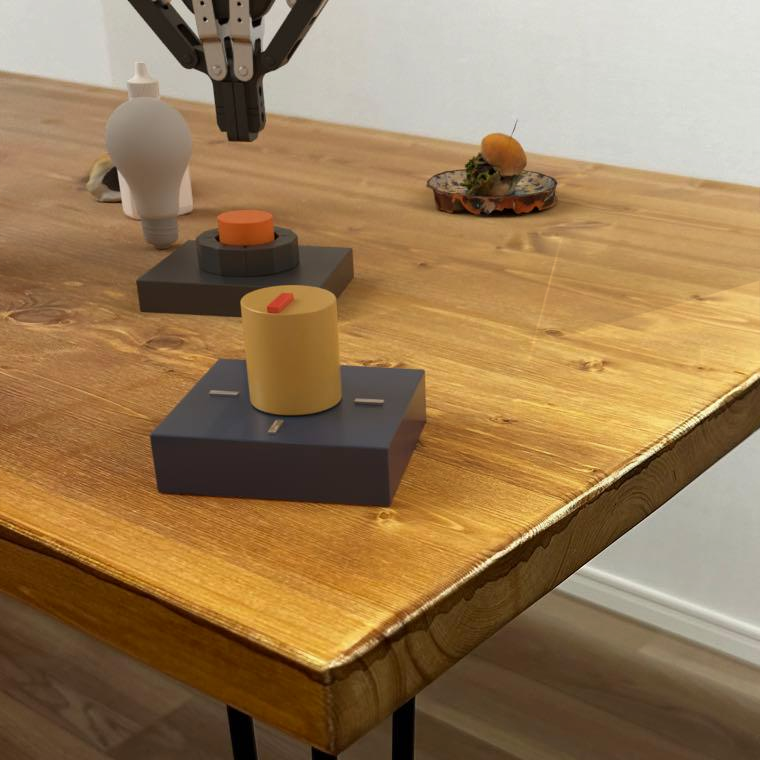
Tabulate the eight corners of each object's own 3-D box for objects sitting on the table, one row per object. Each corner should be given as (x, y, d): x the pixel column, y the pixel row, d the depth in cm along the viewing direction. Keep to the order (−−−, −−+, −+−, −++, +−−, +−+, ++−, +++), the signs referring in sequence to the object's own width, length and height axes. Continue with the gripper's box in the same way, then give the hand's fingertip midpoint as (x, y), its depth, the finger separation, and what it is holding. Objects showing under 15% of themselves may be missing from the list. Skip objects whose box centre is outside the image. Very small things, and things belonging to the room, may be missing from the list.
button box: (140, 312, 78) (131, 252, 76) (191, 269, 87) (185, 214, 85) (320, 322, 77) (316, 261, 75) (354, 277, 86) (351, 222, 84)
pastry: (114, 178, 111) (108, 136, 109) (187, 180, 112) (182, 138, 110) (85, 202, 103) (78, 157, 101) (164, 204, 104) (159, 159, 102)
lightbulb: (205, 236, 95) (188, 90, 89) (203, 258, 89) (185, 104, 84) (124, 239, 93) (103, 91, 88) (117, 261, 88) (94, 104, 83)
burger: (514, 181, 115) (515, 99, 111) (584, 208, 106) (587, 120, 102) (402, 194, 109) (400, 108, 105) (466, 223, 100) (465, 131, 97)
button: (212, 248, 79) (209, 221, 78) (229, 234, 82) (227, 208, 81) (266, 250, 79) (263, 224, 78) (281, 236, 82) (279, 211, 81)
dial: (268, 378, 60) (259, 275, 58) (352, 385, 60) (347, 282, 57) (236, 411, 56) (225, 303, 54) (326, 419, 56) (319, 310, 53)
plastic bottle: (193, 219, 99) (175, 66, 93) (122, 221, 98) (100, 66, 92) (194, 207, 103) (177, 58, 97) (126, 209, 102) (105, 58, 96)
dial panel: (157, 493, 56) (148, 430, 54) (224, 410, 64) (218, 354, 63) (390, 507, 55) (387, 445, 53) (426, 422, 64) (425, 366, 62)
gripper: (338, -166, 72) (355, 132, 81) (123, -170, 73) (163, 126, 81) (308, -170, 66) (330, 155, 74) (73, -174, 66) (122, 148, 75)
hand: (243, 139), depth 78 cm, fingers closed
